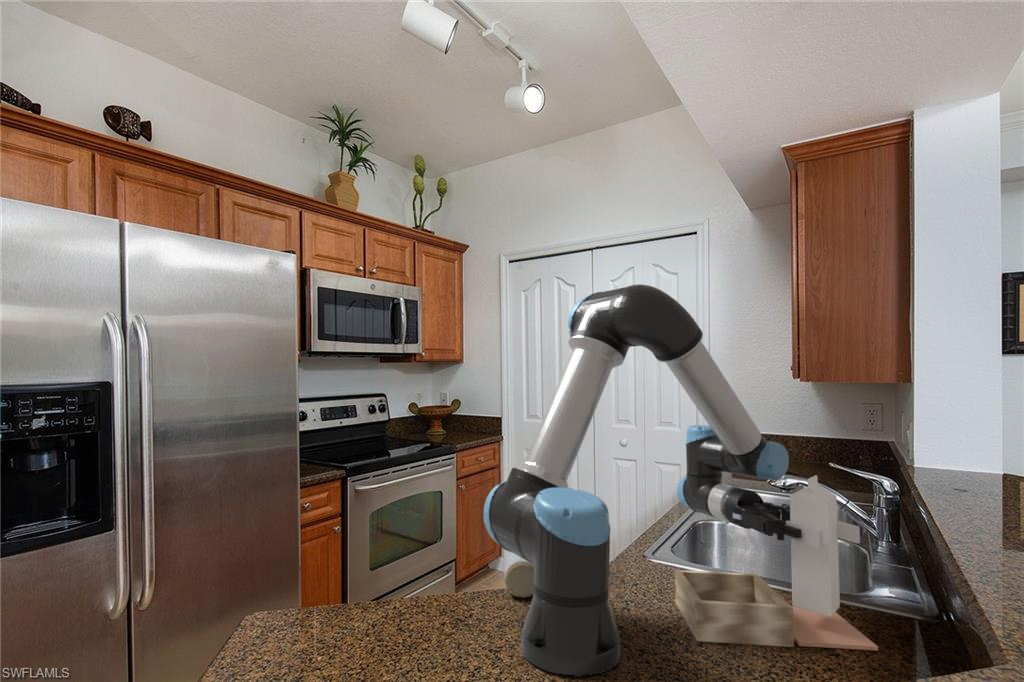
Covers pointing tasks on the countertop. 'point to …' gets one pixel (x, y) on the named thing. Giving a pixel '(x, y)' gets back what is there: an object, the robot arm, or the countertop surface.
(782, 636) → the holder
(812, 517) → the milk
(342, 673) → the countertop surface
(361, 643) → the countertop surface
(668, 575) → the countertop surface
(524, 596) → the ceramic mug
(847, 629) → the mat
